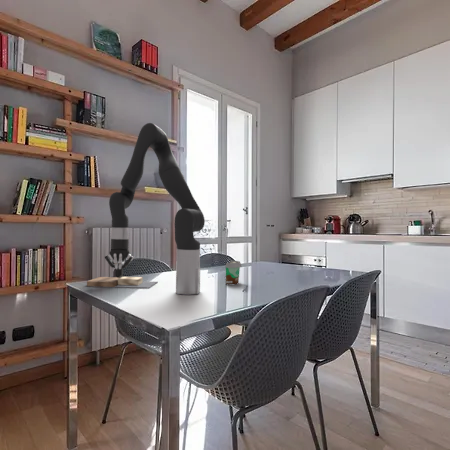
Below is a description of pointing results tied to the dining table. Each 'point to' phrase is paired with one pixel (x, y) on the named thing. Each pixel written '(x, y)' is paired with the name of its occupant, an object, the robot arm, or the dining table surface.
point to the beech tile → (130, 280)
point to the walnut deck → (103, 282)
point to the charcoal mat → (143, 285)
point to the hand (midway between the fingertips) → (119, 277)
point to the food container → (232, 272)
